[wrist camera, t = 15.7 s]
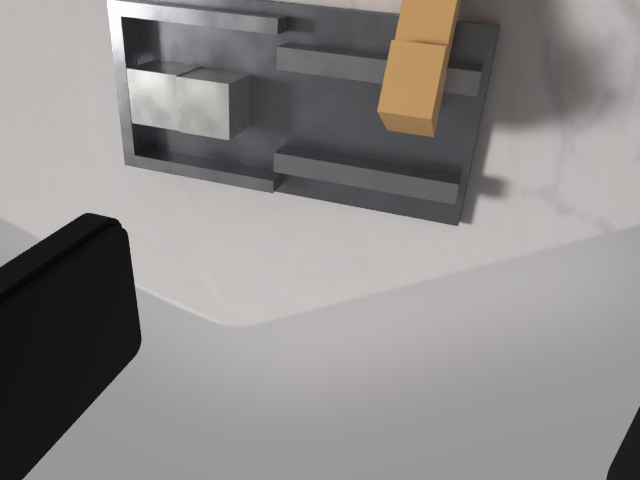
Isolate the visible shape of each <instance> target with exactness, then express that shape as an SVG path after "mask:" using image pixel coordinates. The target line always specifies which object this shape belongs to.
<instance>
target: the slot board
mask: <svg viewBox="0 0 640 480" xmlns="http://www.w3.org/2000/svg"><path fill="white" fill-rule="evenodd" d="M107 4H108V13H109V22H110V31H111V41H112V50H113V59H114V68H115V77H116V87H117V96H118V105H119V114H120V123H121V133H122V142H123V151H124V160H125V165H128V166H133V167H138V168H143V169H149V170H154V171H159V172H164V173H170V174H175V175H180V176H185V177H191V178H196V179H201V180H206V181H212V182H217V183H222V184H227V185H233V186H238V187H243V188H248V189H254V190H259V191H264V192H269V193H274V192H275V191H276V192H281V193H287V194H292V195H297V196H302V197H308V198H313V199H318V200H323V201H329V202H334V203H339V204H345V205H350V206H355V207H360V208H366V209H371V210H376V211H381V212H387V213H392V214H397V215H403V216H408V217H413V218H418V219H424V220H429V221H434V222H439V223H445V224H450V225H455V226H458V224H459V219H460V214H461V209H462V204H463V200H464V195H465V190H466V185H467V181H468V176H469V171H470V166H471V161H472V157H473V152H474V147H475V142H476V137H477V133H478V128H479V123H480V118H481V114H482V109H483V104H484V99H485V94H486V90H487V85H488V80H489V75H490V71H491V66H492V61H493V56H494V51H495V47H496V42H497V37H498V32H499V27H500V25H494V24H485V23H475V22H466V21H457V22H456V27H455V32H454V36H453V41H452V46H451V51H450V56H449V61H448V66H447V76H446V81H445V86H444V91H443V96H442V101H441V106H440V111H439V116H438V120H437V125H436V130H435V135H434V137H428V136H422V135H415V134H409V133H402V132H396V131H389V130H387V129H386V127H385V125H384V123H383V121H382V119H381V118H380V116H379V114H378V112H377V110H378V105H379V100H380V95H381V90H382V85H383V80H384V75H385V70H386V65H387V60H388V55H389V50H390V45H391V40H395V36H396V31H397V26H398V21H399V16H400V15H399V14H389V13H380V12H370V11H360V10H351V9H341V8H332V7H322V6H313V5H303V4H294V3H284V2H274V1H265V0H107ZM153 60H154V61H161V62H168V63H176V64H183V65H190V66H198V67H200V68H204V69H212V70H219V71H226V72H234V73H241V74H249V128H247V129H246V130H244V131H243V132H241V133H240V134H238V135H237V136H235V137H234V138H232V139H231V140H224V139H218V138H212V137H206V136H200V135H194V134H188V133H182V132H180V131H177V130H171V129H165V128H159V127H153V126H147V125H141V124H135V123H132V118H131V108H130V99H129V89H128V79H127V69H126V68H130V67H133V66H136V65H140V64H143V63H147V62H150V61H153Z"/></svg>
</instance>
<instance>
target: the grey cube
mask: <svg viewBox="0 0 640 480" xmlns="http://www.w3.org/2000/svg"><path fill="white" fill-rule="evenodd" d="M176 80H177V97H178V113H179V130H180V132H182V133H188V134H194V135H200V136H206V137H212V138H218V139H224V140H231V139H232V138H234V137H235V136H237V135H238V134H240V133H241V132H243V131H244V130H246V129H247V128H249V74H241V73H234V72H226V71H219V70H212V69H204V68H199V69H196V70H193V71H191V72H188V73H185V74H182V75H179V76H177V77H176Z"/></svg>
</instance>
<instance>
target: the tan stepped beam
mask: <svg viewBox="0 0 640 480" xmlns="http://www.w3.org/2000/svg"><path fill="white" fill-rule="evenodd" d="M460 2H461V0H403V1H402V6H401V11H400V16H399V21H398V26H397V31H396V36H395V40H391V45H390V50H389V55H388V60H387V65H386V70H385V75H384V80H383V85H382V90H381V95H380V100H379V105H378V110H377V112H378V114H379V116H380V118H381V119H382V121H383V123H384V125H385V127H386V129H387V130H389V131H396V132H402V133H409V134H415V135H422V136H428V137H434V135H435V130H436V125H437V120H438V116H439V111H440V106H441V101H442V96H443V91H444V86H445V81H446V76H447V66H448V61H449V56H450V51H451V46H452V41H453V36H454V32H455V27H456V22H457V17H458V12H459V7H460Z"/></svg>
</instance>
